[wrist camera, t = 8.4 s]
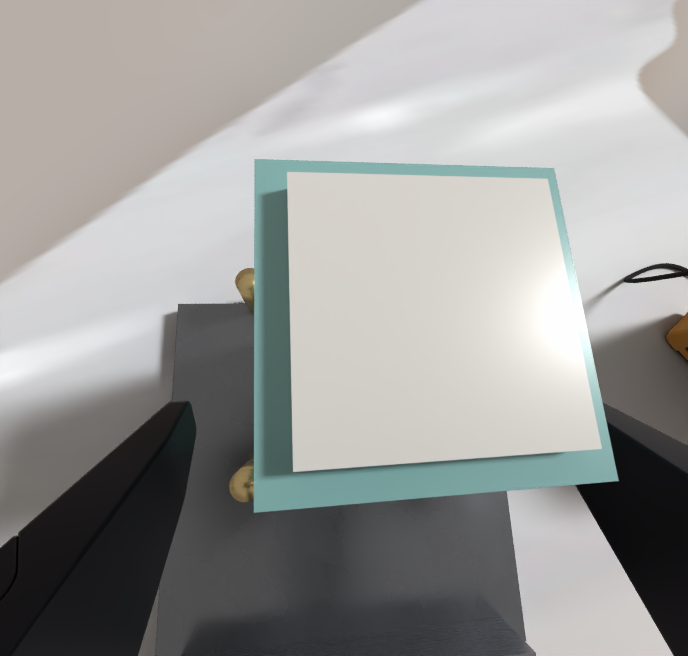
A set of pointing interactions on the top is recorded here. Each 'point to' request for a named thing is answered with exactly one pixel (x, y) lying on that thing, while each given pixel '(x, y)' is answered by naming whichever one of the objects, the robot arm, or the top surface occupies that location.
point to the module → (417, 336)
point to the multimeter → (684, 333)
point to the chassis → (317, 541)
